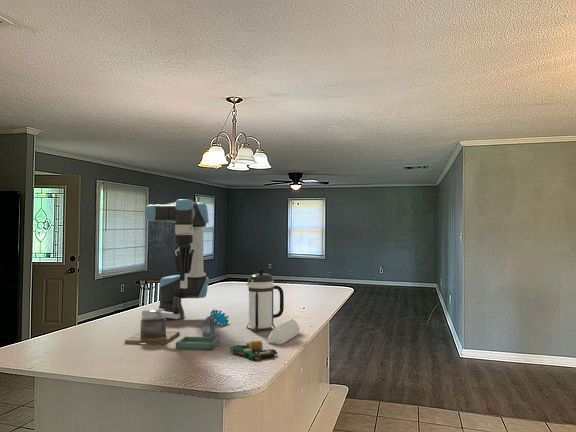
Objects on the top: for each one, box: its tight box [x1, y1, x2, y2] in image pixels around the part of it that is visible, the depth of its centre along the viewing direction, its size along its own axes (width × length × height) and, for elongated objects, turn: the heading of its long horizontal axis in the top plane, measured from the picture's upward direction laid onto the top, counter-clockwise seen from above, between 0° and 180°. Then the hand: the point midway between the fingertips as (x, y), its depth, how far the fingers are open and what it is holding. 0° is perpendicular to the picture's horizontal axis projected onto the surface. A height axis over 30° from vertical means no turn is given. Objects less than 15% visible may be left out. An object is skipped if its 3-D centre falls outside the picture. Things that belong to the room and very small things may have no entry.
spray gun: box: [229, 340, 278, 362], centre depth 172 cm, size 4×17×15 cm
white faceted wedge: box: [267, 318, 301, 345], centre depth 198 cm, size 7×7×24 cm
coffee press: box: [246, 268, 285, 333], centre depth 216 cm, size 17×16×30 cm
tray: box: [175, 336, 220, 351], centre depth 185 cm, size 11×16×2 cm
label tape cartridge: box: [202, 308, 216, 337], centre depth 200 cm, size 9×4×12 cm, turn 178°
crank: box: [141, 297, 180, 322], centre depth 194 cm, size 20×10×11 cm, turn 60°
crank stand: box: [124, 319, 181, 345], centre depth 197 cm, size 18×18×8 cm
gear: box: [214, 309, 230, 327], centre depth 225 cm, size 11×6×10 cm
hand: (183, 288), depth 191 cm, fingers closed
